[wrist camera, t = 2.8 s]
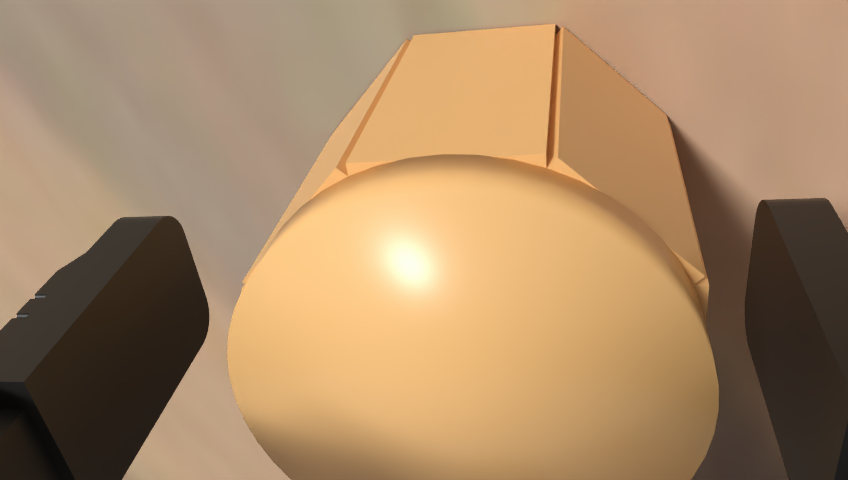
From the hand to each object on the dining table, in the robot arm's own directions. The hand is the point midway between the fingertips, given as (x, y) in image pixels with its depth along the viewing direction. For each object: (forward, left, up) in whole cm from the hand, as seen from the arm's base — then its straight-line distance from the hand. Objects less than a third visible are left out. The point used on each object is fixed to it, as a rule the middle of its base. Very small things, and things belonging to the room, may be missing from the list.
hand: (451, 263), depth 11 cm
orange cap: (0, 0, -2) cm, 2 cm away
